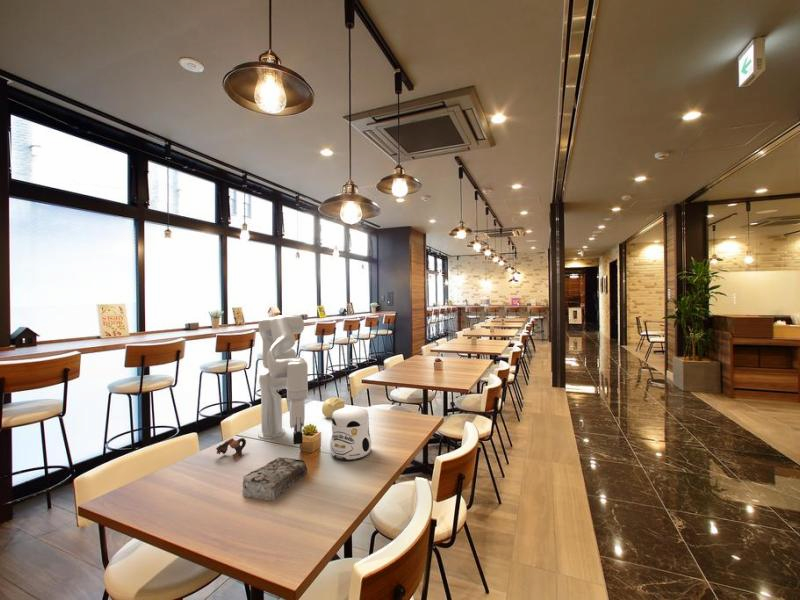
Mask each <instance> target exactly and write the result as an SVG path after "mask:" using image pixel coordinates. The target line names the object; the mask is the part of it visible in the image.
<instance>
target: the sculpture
mask: <svg viewBox="0 0 800 600" xmlns="http://www.w3.org/2000/svg"><path fill="white" fill-rule="evenodd" d="M345 404H346V403H345V401H344V400H343V399H342V398H339V397H336V396H333V397H330V398H327V399H326V400H325V401H324V402H323V404H322V407H321V412H322V415H323V416H324V417H325V418H327V419H332V415H333V412H334V411H336V410H338V409H342V408H345V407H346V406H345Z"/></svg>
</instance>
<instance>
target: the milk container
mask: <svg viewBox="0 0 800 600" xmlns="http://www.w3.org/2000/svg"><path fill="white" fill-rule="evenodd" d="M331 422H332V423H331V437H330V443H329V449H330V453H331V455H332V456H333V457H334V458H335V459H337V460H340V461H347V462H348V461H349V462H350V461H351V462H352V461H357V460H360V459H363V458H364V457H366V456H368V455H369V453H370V452H371V449H372V438H371V436H370V417H369V411H368V409H366V408H363V407H357V406H353V407H351V406H347V407H344V408H342V409H338V410H336V411H334V412H333V415H332V418H331Z"/></svg>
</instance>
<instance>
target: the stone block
mask: <svg viewBox="0 0 800 600" xmlns="http://www.w3.org/2000/svg"><path fill="white" fill-rule="evenodd" d="M307 473H308V467H307V465H306V462H305V460H302V459H296V458H288V457H282V456H279V457H277V458H275V459H274V460H271V461H270V462H268V463H266V464H265V465H263V466H261V467H259V468H257V469H255V470H253V471H250V472H249V473H248V474H245V475H244V476H243V477H242V478H243V480H242V489H241V492H242V496H243V497H248V498H254V499H258V500H259V499H260V500H262V501H274V500H276V499H278V497H280V496H281V495H283V494H284V493H285V492H286V491H287V490H289V489H290V488H291V487H292V486H293V485H295V484H296V483H297V482H299V480H300V479H301V478H303V477H304V476H305V475H306V474H307Z"/></svg>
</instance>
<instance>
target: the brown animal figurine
mask: <svg viewBox="0 0 800 600" xmlns="http://www.w3.org/2000/svg"><path fill="white" fill-rule="evenodd" d="M246 444H247V440H246V439H245V438H244V437H241V438H238V439H237V440H235V439H234V438H233V437H232V438H231V437H230V439H228V440H227V441H225V442H223V443H222V444H219V445H218V446H217V447H216V448H215V449H216V455H217V454H218V455H221V453H222V455H225V454H227V451H228V447H229V446H230V448H231V449H233V450H235V452H234V453H233V454H232V458H233V460H237V459H239V458H240V457H242V456H243V449H244V448H245V447H246Z"/></svg>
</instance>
